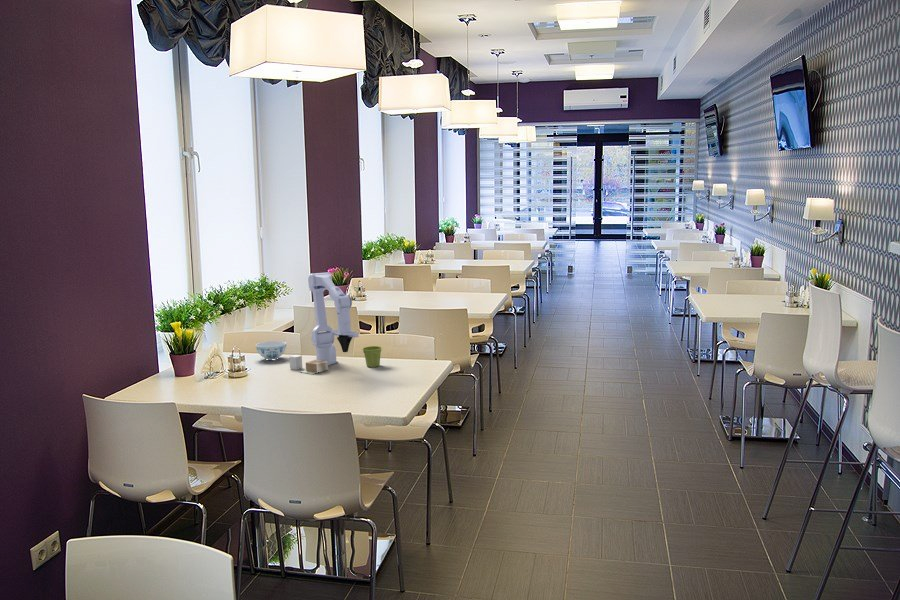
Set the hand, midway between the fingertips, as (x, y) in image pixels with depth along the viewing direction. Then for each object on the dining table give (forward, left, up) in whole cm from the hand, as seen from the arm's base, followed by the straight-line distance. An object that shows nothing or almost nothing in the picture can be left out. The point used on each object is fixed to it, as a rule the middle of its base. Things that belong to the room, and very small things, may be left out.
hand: (345, 351), depth 356 cm
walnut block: (+3, -12, -8) cm, 14 cm away
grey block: (+3, -28, -10) cm, 30 cm away
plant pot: (-17, +2, -10) cm, 20 cm away
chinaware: (-7, -54, -10) cm, 55 cm away
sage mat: (+3, -17, -10) cm, 19 cm away
